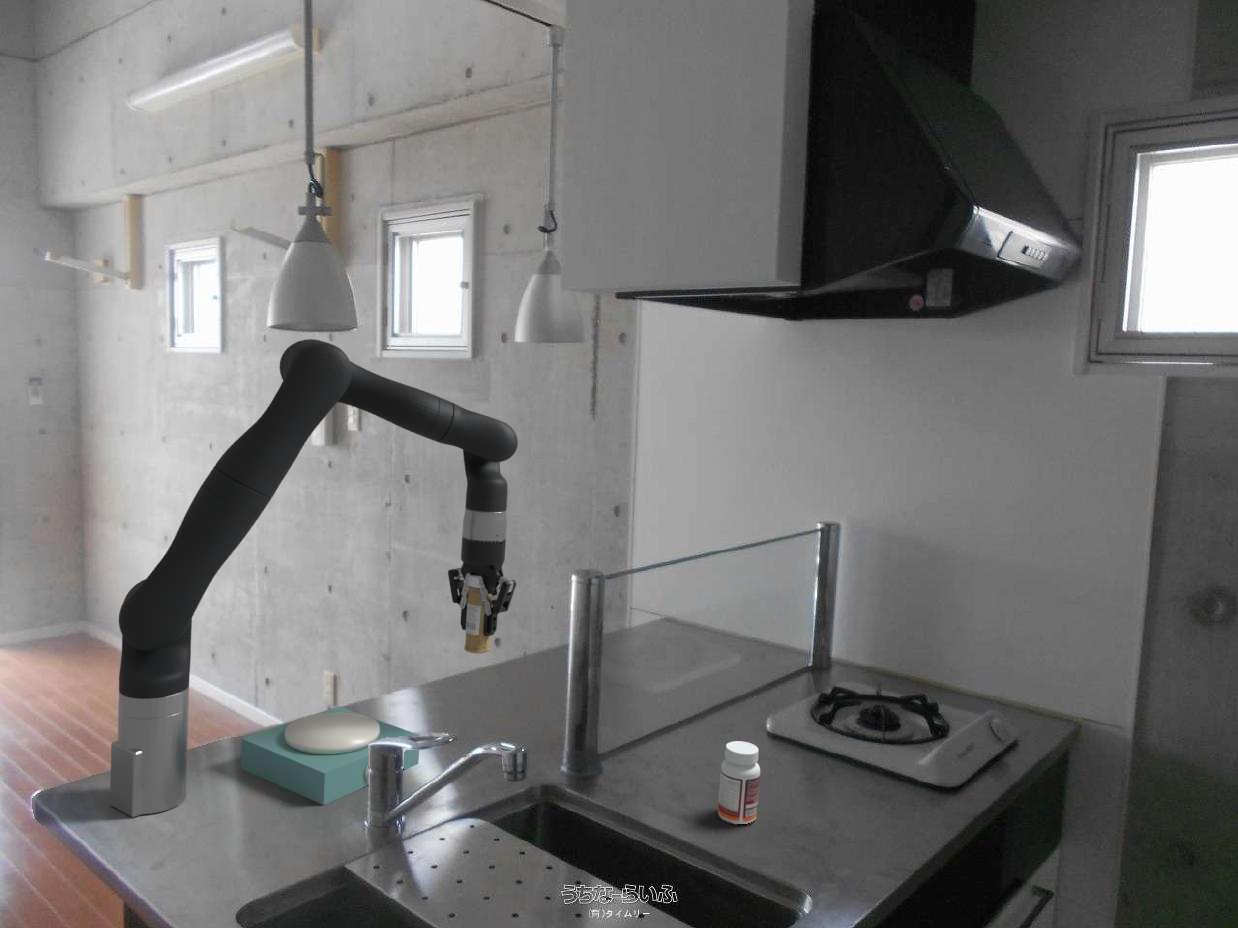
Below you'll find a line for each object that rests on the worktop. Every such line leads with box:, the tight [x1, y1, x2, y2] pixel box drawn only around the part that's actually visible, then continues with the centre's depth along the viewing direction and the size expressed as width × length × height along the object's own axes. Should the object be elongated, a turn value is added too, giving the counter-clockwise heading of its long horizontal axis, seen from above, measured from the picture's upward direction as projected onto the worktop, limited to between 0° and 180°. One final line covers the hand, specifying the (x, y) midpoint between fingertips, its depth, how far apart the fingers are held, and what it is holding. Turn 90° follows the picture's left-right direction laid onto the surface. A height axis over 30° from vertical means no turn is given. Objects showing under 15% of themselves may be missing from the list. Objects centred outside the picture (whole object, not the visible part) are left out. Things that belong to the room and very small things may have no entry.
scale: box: [240, 705, 421, 806], centre depth 150 cm, size 20×20×5 cm
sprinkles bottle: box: [463, 575, 493, 654], centre depth 157 cm, size 5×5×14 cm
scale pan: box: [285, 712, 380, 754], centre depth 150 cm, size 15×15×1 cm
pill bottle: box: [717, 740, 761, 825], centre depth 142 cm, size 6×6×11 cm
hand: (478, 631), depth 157 cm, fingers closed on sprinkles bottle, 4 cm apart
